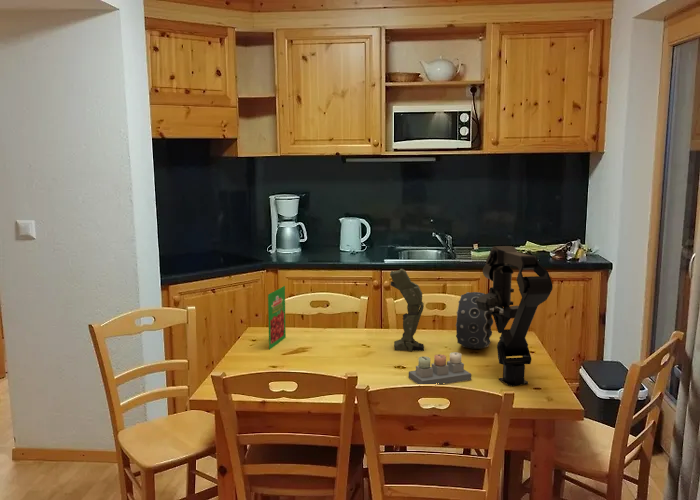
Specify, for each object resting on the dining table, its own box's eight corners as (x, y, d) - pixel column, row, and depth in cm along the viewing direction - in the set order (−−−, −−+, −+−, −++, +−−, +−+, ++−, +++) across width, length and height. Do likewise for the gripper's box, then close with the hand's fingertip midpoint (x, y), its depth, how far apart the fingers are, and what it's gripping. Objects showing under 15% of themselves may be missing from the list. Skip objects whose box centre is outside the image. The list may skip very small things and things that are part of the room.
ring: (453, 354, 225) (455, 297, 222) (464, 338, 244) (465, 286, 241) (485, 357, 222) (487, 300, 218) (493, 341, 240) (495, 288, 237)
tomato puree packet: (270, 349, 230) (269, 294, 226) (267, 349, 230) (266, 294, 227) (286, 337, 244) (286, 285, 241) (284, 337, 244) (283, 285, 241)
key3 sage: (432, 374, 198) (432, 359, 197) (421, 376, 197) (422, 360, 196) (426, 371, 201) (426, 355, 201) (416, 372, 200) (416, 357, 199)
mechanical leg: (434, 343, 234) (415, 263, 230) (434, 350, 227) (415, 267, 223) (396, 351, 236) (377, 272, 232) (396, 357, 229) (376, 276, 225)
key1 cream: (463, 370, 202) (463, 354, 201) (453, 371, 201) (453, 356, 200) (457, 366, 205) (457, 351, 205) (447, 368, 204) (447, 352, 203)
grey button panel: (471, 379, 201) (471, 365, 200) (422, 387, 194) (422, 373, 193) (455, 370, 209) (456, 357, 208) (408, 377, 202) (408, 363, 202)
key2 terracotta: (447, 372, 200) (448, 356, 199) (437, 374, 199) (438, 358, 198) (441, 368, 203) (442, 353, 203) (431, 370, 202) (432, 354, 201)
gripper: (464, 281, 212) (462, 327, 214) (497, 293, 195) (496, 343, 197) (493, 279, 216) (491, 324, 219) (528, 290, 199) (526, 339, 201)
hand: (500, 332), depth 209 cm, fingers closed
